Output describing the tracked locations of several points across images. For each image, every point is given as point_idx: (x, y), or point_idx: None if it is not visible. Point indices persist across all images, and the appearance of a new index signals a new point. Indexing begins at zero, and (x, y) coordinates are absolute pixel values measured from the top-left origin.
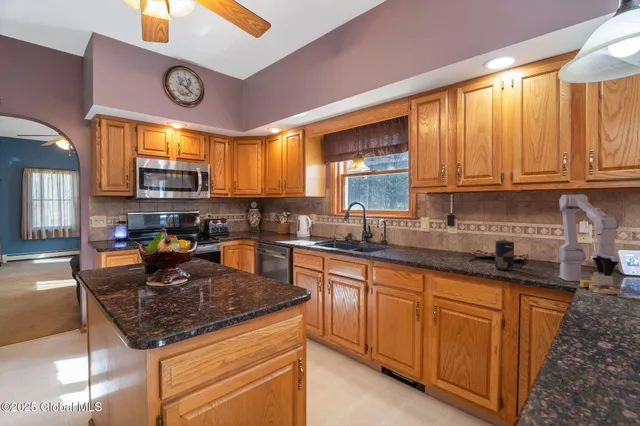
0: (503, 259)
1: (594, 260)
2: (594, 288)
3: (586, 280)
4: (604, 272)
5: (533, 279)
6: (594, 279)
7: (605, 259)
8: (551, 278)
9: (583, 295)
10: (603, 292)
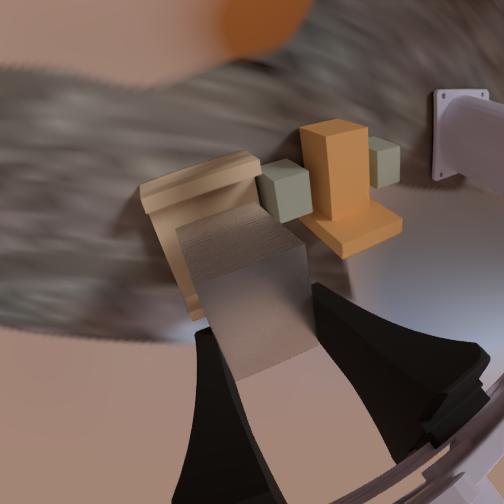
0: None
1: (439, 351)
2: (179, 183)
3: (368, 169)
4: (206, 352)
5: None
6: (257, 216)
7: (397, 441)
8: (455, 36)
9: (35, 93)
10: (155, 228)
